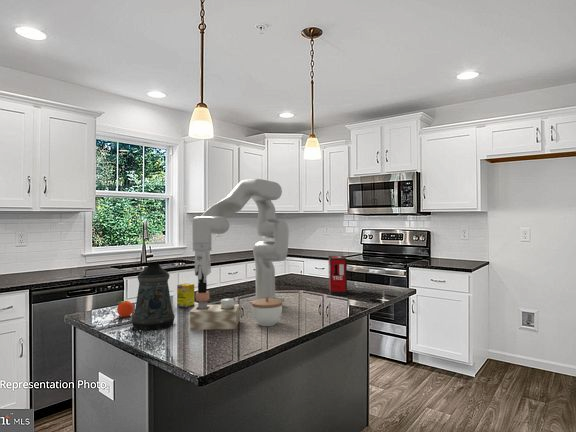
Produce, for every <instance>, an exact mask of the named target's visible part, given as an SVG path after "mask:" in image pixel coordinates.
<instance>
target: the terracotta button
mask: <svg viewBox="0 0 576 432" xmlns="http://www.w3.org/2000/svg"><path fill="white" fill-rule="evenodd" d="M195 299H196V302H197V301H198V302H197V303H198V304H197V305H198V310H205V309H207V305H208V301H210V291H208V290H207V292H206V293H198V291H196V293H195Z"/></svg>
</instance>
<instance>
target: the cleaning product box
mask: <svg viewBox="0 0 576 432" xmlns="http://www.w3.org/2000/svg"><path fill="white" fill-rule="evenodd" d="M347 260H348V259H347V257H345V255H328V291H329V294H330V296H348V274H347V273H348V272H347V271H348V263H347V262H348V261H347Z"/></svg>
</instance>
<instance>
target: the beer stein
mask: <svg viewBox="0 0 576 432" xmlns="http://www.w3.org/2000/svg"><path fill="white" fill-rule="evenodd" d="M169 279H170V273H169V272H167V270H165V269H164V268H163V267H161V265H160V263H157V262H156V263H155V262H152V263H148V264H147V266H146V267H145V268H144V269H143V270H142V271H141V272H139V274H138V275H137V281H138V290H137V296H136V301H135V308H134V310H133V315H132V318H131V323H132V328H133V329H134V330H135V329H136V330H135V331H139V330H141V331H140V332H155V330H156V331H162V330H165V329H169V328H171V327H173V325H174V322H175V313H174V311H173V308H172V307H173V306H172V301H171V300H172V299H171V294H170V287H169V282H168V281H169Z"/></svg>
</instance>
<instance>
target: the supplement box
mask: <svg viewBox="0 0 576 432" xmlns="http://www.w3.org/2000/svg"><path fill="white" fill-rule="evenodd" d="M176 286H177V287H176V289H177V291H176V292H177V293H176V295H177V296H176V297H177V298H176V299H177V300H176V301H177V304H176V305H177V308H183V309H189V308H192V307H195V284H194V283H186V282H185V283H180V284H176Z"/></svg>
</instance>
